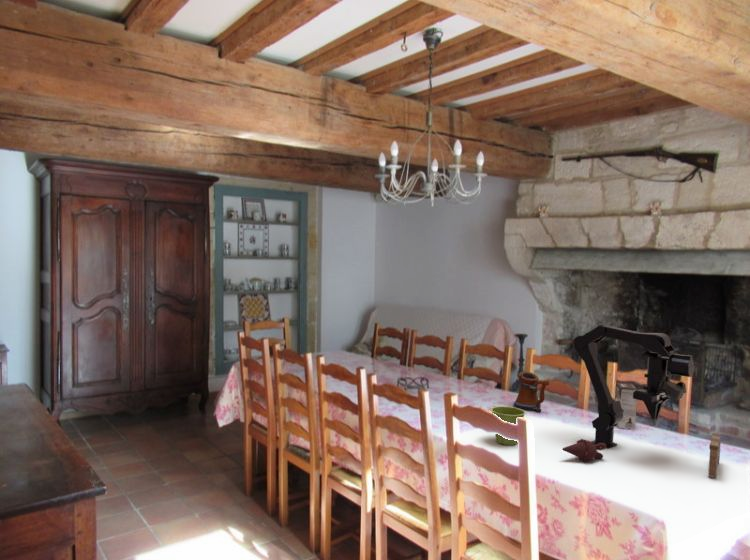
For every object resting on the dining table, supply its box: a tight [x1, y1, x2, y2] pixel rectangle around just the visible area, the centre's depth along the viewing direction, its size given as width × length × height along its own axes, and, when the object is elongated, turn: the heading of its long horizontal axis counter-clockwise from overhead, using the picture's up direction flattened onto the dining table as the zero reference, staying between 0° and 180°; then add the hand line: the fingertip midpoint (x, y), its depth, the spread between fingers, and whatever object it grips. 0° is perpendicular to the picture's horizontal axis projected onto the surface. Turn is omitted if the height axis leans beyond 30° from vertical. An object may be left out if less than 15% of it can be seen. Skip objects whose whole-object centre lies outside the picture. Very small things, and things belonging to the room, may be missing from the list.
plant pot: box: [490, 405, 527, 446], centre depth 196 cm, size 12×12×11 cm
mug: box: [513, 371, 551, 413], centre depth 239 cm, size 18×12×15 cm, turn 24°
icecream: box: [561, 438, 607, 463], centre depth 181 cm, size 7×7×15 cm
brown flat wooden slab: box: [708, 432, 720, 478], centre depth 175 cm, size 14×2×10 cm, turn 146°
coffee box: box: [614, 382, 638, 430], centre depth 220 cm, size 9×6×16 cm
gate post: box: [714, 432, 722, 465], centre depth 182 cm, size 2×2×10 cm
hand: (654, 418), depth 185 cm, fingers closed
